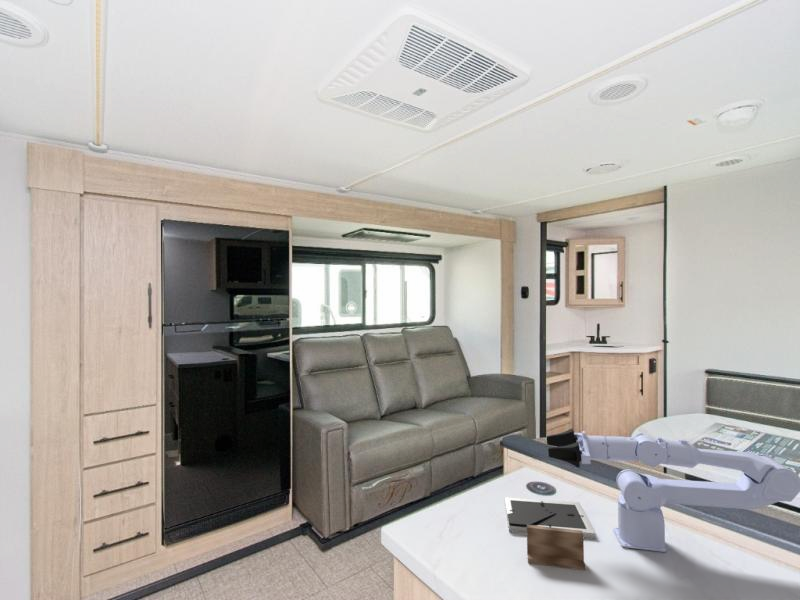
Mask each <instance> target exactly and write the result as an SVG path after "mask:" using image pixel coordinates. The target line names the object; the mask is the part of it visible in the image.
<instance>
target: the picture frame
mask: <svg viewBox="0 0 800 600" xmlns="http://www.w3.org/2000/svg"><path fill="white" fill-rule="evenodd" d="M504 506H505V507H506V508H505V515H506V514H507V515H506V522H507V521H508V522H507V528H509V529H508V532H509V531H514V532H513V533H520V532H523V533H522V534H527V525H535V526H544V527H553V528H562V529H571V530H580V531H583V537H584V538H583V539H590V538H592V539H594V540H596V532H595V530H594V528H593V526H592V524H591V522H590V520H589V518H588V516H587V515H586V513H585V511H584V508H583V507H582V505H581V503H580V502H579V501H578V502H577V501H575V502H574V501H565V500H564V501H563V500H550V499H549V500H548V499H547V500H546V499H534V498H521V497H520V498H519V497H507V496H504Z"/></svg>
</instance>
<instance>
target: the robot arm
mask: <svg viewBox="0 0 800 600" xmlns="http://www.w3.org/2000/svg"><path fill="white" fill-rule="evenodd" d="M546 445H548V446H550V447H548V448H547V452H548V458H552V459H556V460H559V461H562V462H566V463H568V464H570V465H572V466H574V467H576V468H580V467H581V465H580V463H581V464H582V465H583V464H584V465H590V464H592V463H591V461H592V460H593V461H615V462H641V463H642V464H644V465H646V466H648V467H653V468H654V467H657V466H659V465H668V466H675V467H682V468H689V469H690V468H691V469H693V468H695V467H696V466H698V465H706V466H712V467H717V468H723V469H730V470H735V471H739V472H741V475H740V477H739V478H738V480H736V482H734V483H733V482H719V481H717V482H716V481H703V480H688V479H687V480H686V479H685V480H684V479H673V478H672V479H671V478H670V479H669V478H659V477H656V476H653V475H651V474H647V473H641V472H638V471H636V470H634V469H623V470H621V471H619V473H618V474H617V475H616V480H615V481H616V485H617V487H618V489H619V490H620V494H619V496H618V497H617V521H618V522H617V523H618V525H617V527H613V532H614V534H615V536H616V538H617V539H618V542H619V543H620V546H621V547H622V548H627V549H628V548H629V549H637V550H644V551H654V552H661V553H665V552H667V549H666V535H665V531H666V529H665V528H666V527H665V524H666V523H665V519H664V513H663V510H662V507H663V506H664V505H665V504H673V505H674V504H675V505H687V506H700V507H710V508H711V507H713V508H714V507H715V508H726V509H737V510H738V509H740V510H759V509H762V508H764V507H767V506H771V505H773V504H776V503H778V502H790V503H791V502H792V501H793V500H794V499H795V498H796V496H798V494H799V493H800V476H799V475H798V473H796V472H794V470H791V469H789V468H787V467H786V466H784V465H783V464H781V463H779V462H778V461H776V459H774V458H773V457H772V456H770V455H767V454H764V453H755V452H753V451H735V450H734V451H733V450H721V449H719V450H718V449H709V448H708V449H706V448H697V446H695V445H694V444H693V443H692V442H688V440H686V439H685V438H679V439H678V440H674V439H664V438H662V437H661V436H656V437H655V438H652V437H651V436H650V435H646V434H643V433H637V434H635V435H633V436H615V435H612V436H611V435H610V436H609V435H608V436H607V435H587V433H586V431H585V430H582V431H581V432H575V430H574V428H569V429H568V430H565V431H563V432H560V433H555V434H551V435H547V436H546Z"/></svg>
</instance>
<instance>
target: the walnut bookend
mask: <svg viewBox="0 0 800 600" xmlns="http://www.w3.org/2000/svg"><path fill="white" fill-rule="evenodd" d="M584 548H585V546H584V538H583V531H580V530H571V529H562V528H553V527H544V526H535V525H527V533H526V549H527V552H526V555H527V556H528V557H527V556H526V557H527V562H528V564H534V565H541V566H550V567H556V568H557V567H558V568H564V567H566V568H565V569H572V568H573V569H574V570H580V571H587V570H586V568H587V567H586V563H585V558H584V557H585V555H584V553H585V550H584Z"/></svg>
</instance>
